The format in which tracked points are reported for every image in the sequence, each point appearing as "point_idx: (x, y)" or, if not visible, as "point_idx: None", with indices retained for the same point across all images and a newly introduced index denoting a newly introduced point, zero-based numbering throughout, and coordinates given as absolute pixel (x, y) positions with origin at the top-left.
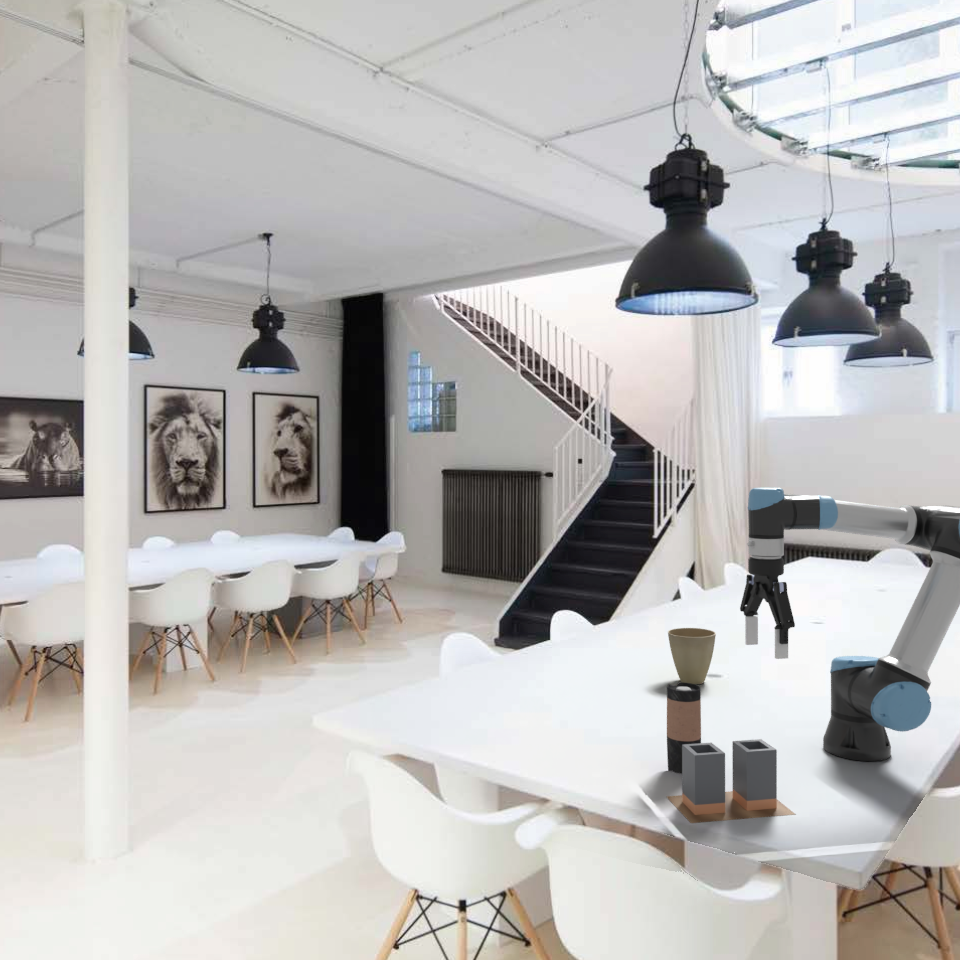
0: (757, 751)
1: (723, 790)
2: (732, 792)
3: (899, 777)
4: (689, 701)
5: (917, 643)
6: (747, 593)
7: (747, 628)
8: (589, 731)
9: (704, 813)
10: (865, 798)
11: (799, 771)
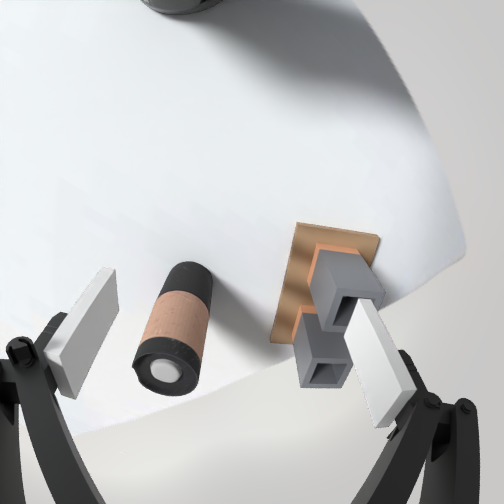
0: None
1: None
2: (291, 271)
3: None
4: (200, 367)
5: None
6: (21, 497)
7: (94, 355)
8: (39, 310)
9: None
10: (363, 94)
11: (236, 110)
